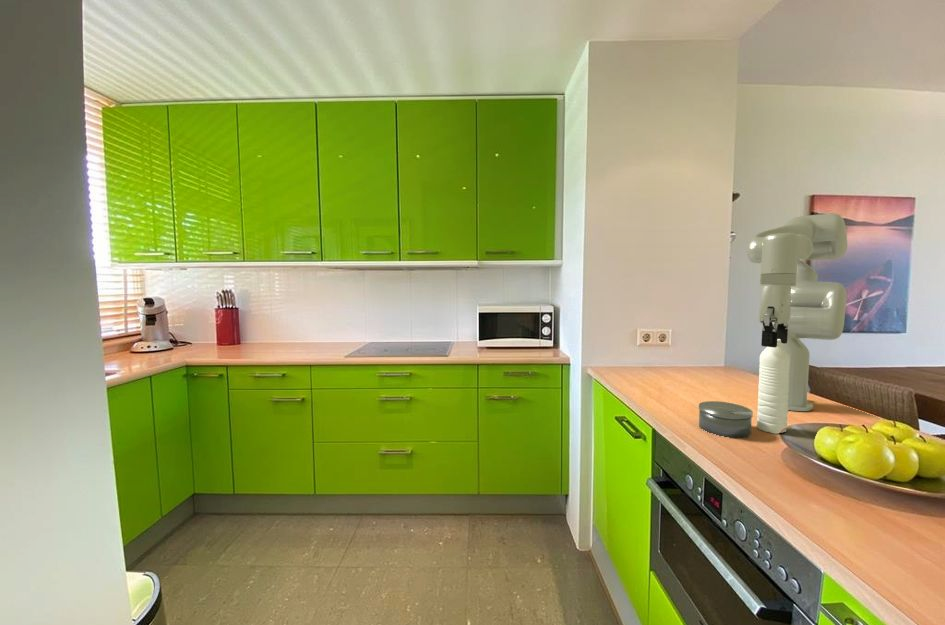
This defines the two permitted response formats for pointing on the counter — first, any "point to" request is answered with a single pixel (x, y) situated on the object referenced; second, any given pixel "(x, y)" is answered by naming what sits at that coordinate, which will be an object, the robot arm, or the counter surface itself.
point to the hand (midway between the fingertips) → (774, 344)
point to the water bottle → (773, 389)
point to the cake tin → (725, 419)
